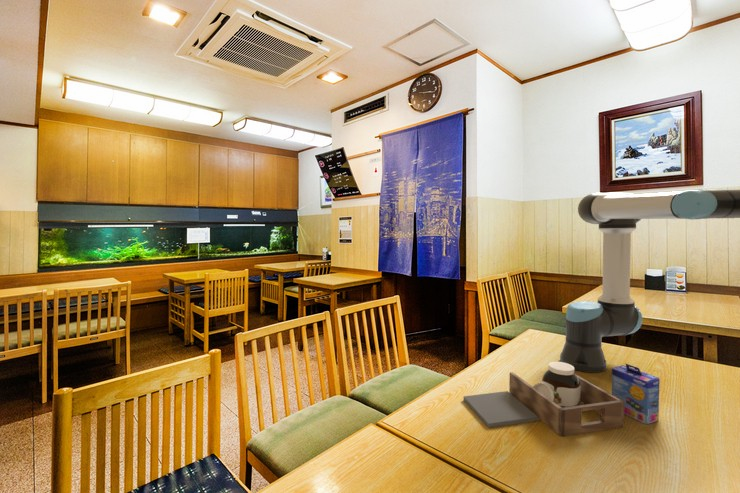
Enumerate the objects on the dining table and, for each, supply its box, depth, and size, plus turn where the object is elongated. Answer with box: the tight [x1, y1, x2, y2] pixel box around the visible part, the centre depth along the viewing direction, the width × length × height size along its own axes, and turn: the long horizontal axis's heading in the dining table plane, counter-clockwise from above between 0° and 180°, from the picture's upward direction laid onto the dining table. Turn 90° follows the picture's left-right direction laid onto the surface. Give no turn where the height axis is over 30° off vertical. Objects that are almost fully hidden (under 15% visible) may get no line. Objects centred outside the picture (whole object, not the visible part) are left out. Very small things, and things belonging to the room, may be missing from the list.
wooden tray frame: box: [508, 371, 625, 437], centre depth 103 cm, size 23×19×7 cm
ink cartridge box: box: [611, 363, 661, 425], centre depth 100 cm, size 10×6×14 cm, turn 23°
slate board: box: [463, 390, 539, 429], centre depth 104 cm, size 15×15×1 cm
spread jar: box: [532, 361, 581, 408], centre depth 106 cm, size 12×11×12 cm
